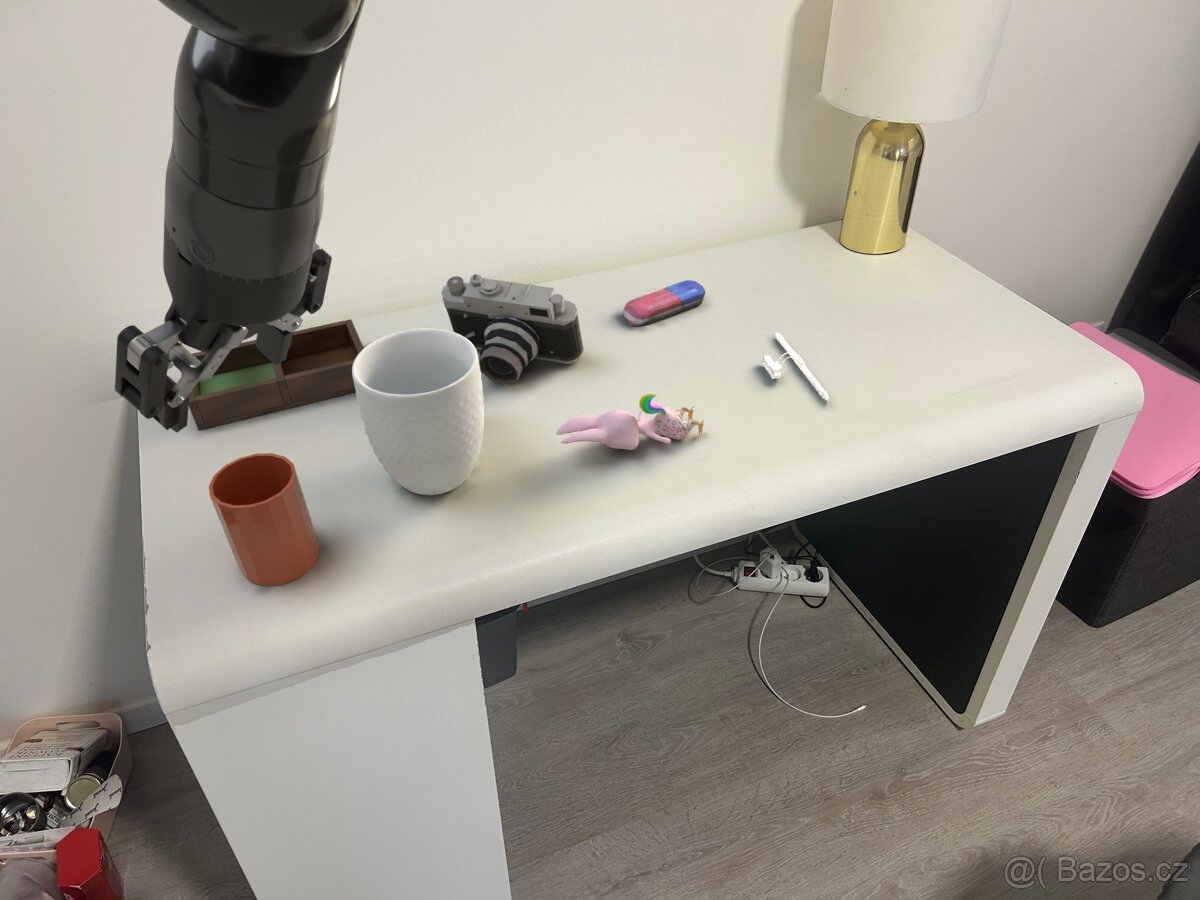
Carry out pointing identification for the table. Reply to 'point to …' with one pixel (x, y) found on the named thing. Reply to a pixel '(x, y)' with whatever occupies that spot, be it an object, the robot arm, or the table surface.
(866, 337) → the table surface
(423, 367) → the mug
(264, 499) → the cup
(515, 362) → the camera
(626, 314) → the eraser
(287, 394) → the holder
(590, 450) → the table surface
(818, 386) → the picture light
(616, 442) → the rabbit figure
